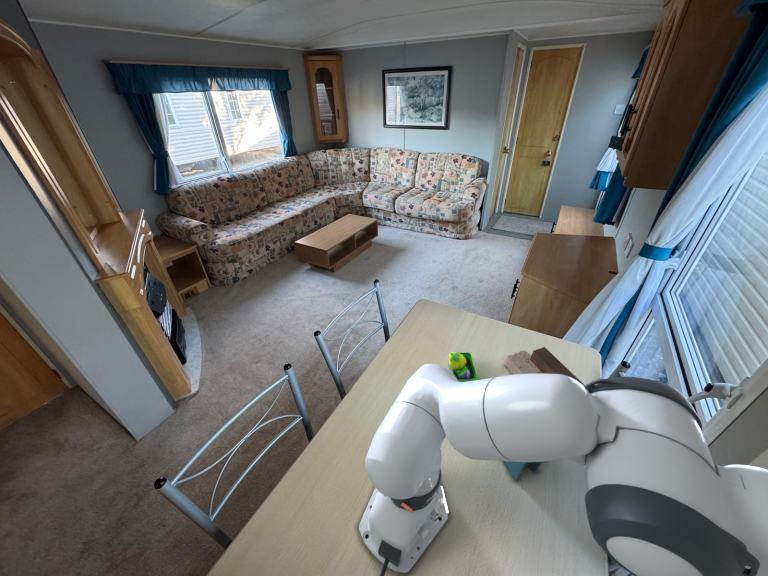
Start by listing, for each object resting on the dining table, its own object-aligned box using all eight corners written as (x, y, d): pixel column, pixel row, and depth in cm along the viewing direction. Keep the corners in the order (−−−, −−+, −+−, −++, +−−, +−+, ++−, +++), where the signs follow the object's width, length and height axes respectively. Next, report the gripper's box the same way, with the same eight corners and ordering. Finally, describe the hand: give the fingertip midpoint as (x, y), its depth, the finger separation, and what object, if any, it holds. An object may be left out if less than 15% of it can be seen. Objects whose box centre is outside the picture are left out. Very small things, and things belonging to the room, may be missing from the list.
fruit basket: (475, 388, 100) (481, 366, 93) (449, 389, 100) (452, 367, 93) (468, 361, 109) (472, 340, 102) (444, 362, 109) (446, 340, 102)
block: (620, 435, 60) (628, 426, 58) (607, 441, 59) (614, 432, 57) (541, 356, 77) (544, 346, 75) (529, 359, 76) (533, 350, 74)
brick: (557, 394, 97) (562, 385, 94) (536, 402, 95) (540, 393, 92) (522, 357, 110) (525, 348, 107) (502, 364, 108) (505, 355, 105)
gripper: (765, 551, 50) (692, 461, 57) (681, 618, 45) (612, 510, 52) (726, 545, 55) (664, 463, 62) (647, 604, 50) (589, 508, 57)
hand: (640, 485), depth 57 cm, fingers open, 8 cm apart
